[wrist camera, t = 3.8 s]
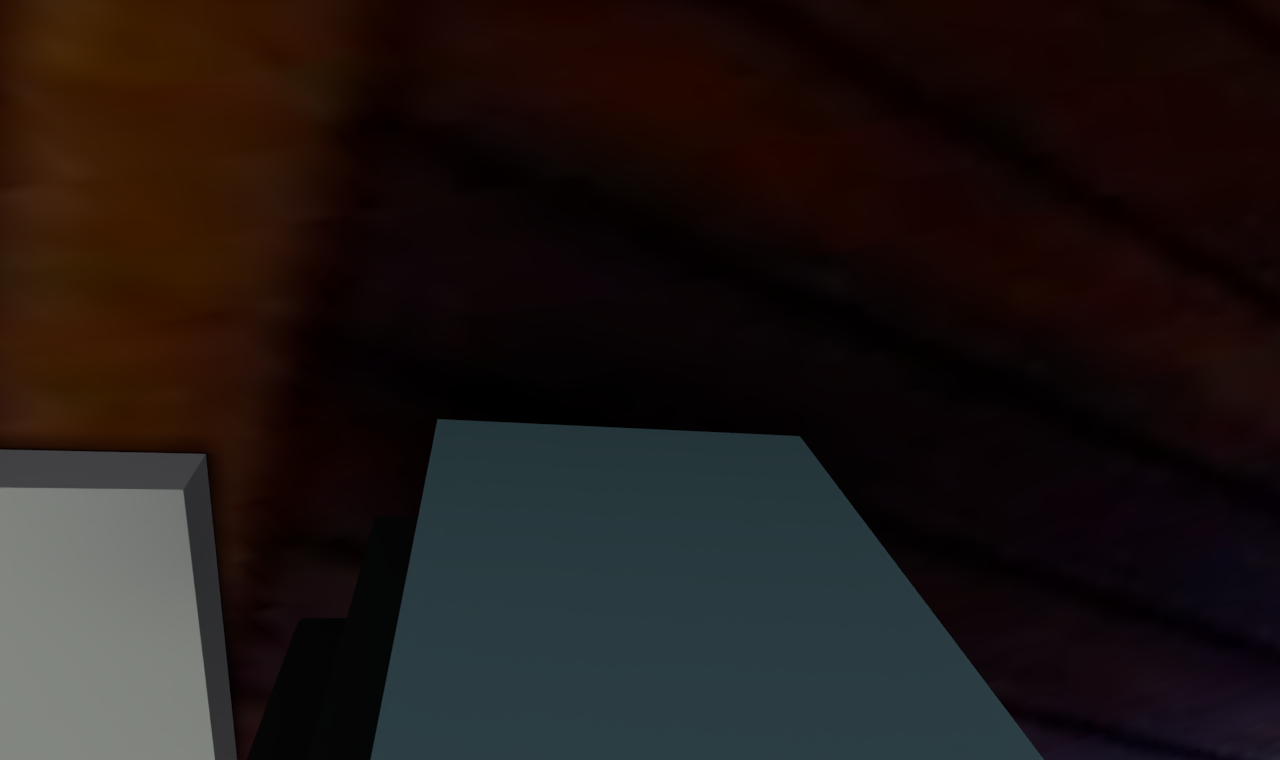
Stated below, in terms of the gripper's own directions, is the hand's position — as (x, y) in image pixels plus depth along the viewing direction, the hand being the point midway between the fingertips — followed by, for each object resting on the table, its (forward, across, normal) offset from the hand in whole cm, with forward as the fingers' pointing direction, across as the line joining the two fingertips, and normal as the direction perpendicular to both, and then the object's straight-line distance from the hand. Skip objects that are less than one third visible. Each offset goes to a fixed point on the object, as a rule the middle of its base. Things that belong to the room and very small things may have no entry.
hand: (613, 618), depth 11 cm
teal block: (+1, 0, 0) cm, 1 cm away
